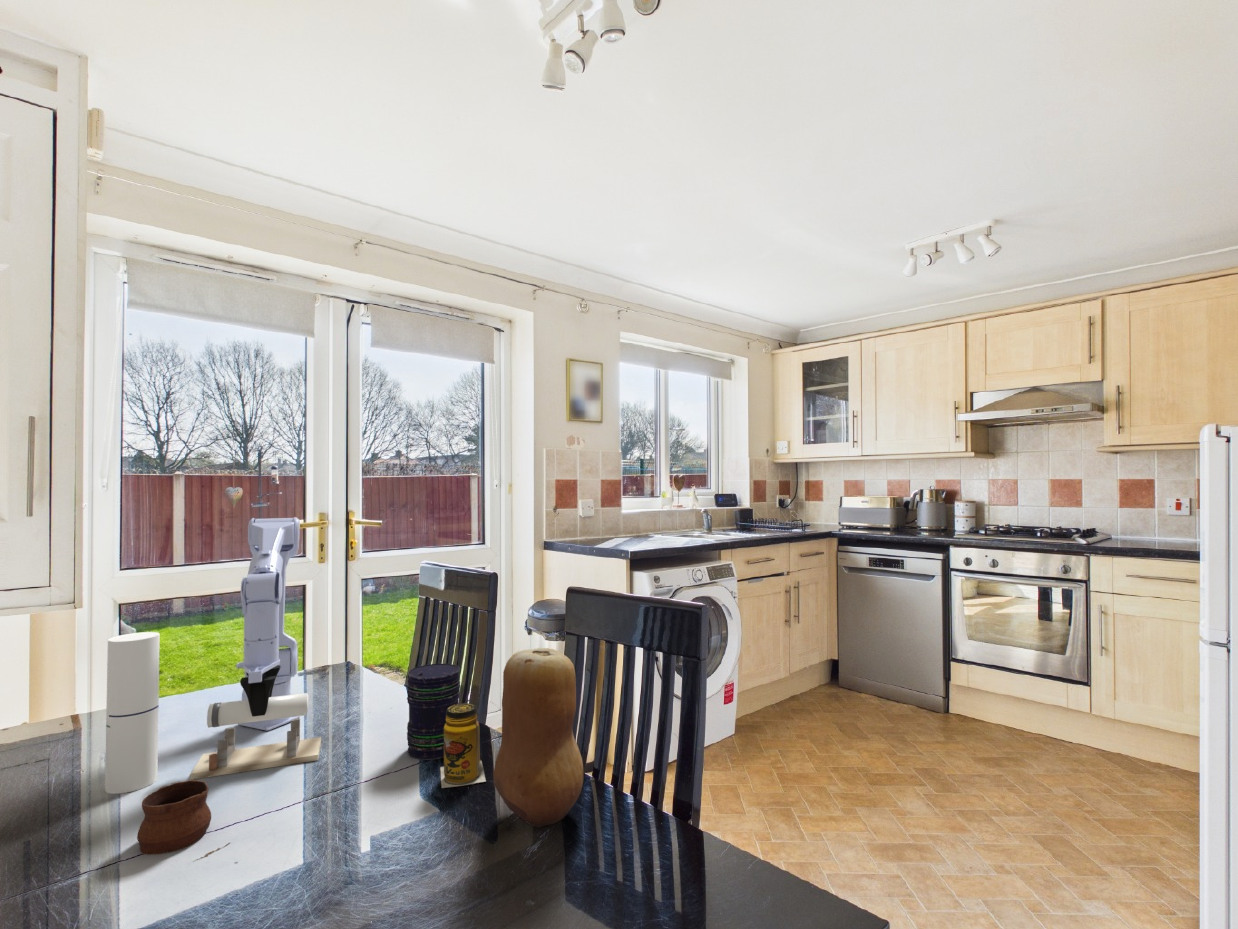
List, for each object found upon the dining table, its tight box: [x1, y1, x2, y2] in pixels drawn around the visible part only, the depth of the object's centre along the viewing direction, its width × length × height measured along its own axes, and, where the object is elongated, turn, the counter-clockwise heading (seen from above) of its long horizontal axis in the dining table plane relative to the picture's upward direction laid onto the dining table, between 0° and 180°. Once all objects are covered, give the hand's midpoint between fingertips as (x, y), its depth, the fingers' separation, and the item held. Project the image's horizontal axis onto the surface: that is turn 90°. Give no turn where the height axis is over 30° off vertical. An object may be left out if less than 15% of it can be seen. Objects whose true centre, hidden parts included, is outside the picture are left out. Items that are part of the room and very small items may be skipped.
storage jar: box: [406, 663, 461, 761], centre depth 122 cm, size 10×10×15 cm
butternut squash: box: [492, 647, 584, 828], centre depth 96 cm, size 14×13×25 cm
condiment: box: [439, 702, 487, 789], centre depth 111 cm, size 7×8×12 cm
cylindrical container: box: [104, 631, 161, 795], centre depth 109 cm, size 7×7×25 cm
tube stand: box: [190, 718, 322, 780], centre depth 117 cm, size 20×9×6 cm, turn 112°
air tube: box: [206, 692, 309, 728], centre depth 118 cm, size 16×4×4 cm, turn 112°
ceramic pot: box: [136, 779, 230, 865], centre depth 91 cm, size 18×18×7 cm
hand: (260, 711), depth 118 cm, fingers closed on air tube, 4 cm apart
